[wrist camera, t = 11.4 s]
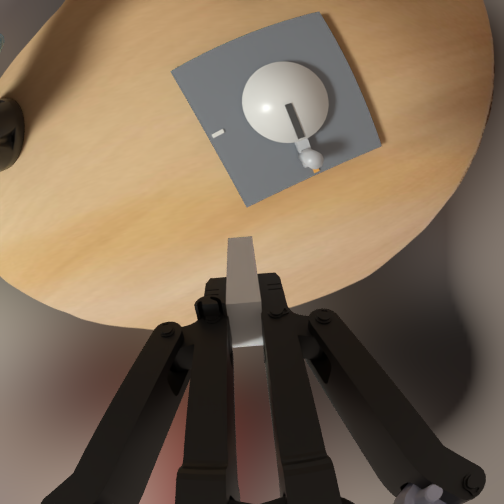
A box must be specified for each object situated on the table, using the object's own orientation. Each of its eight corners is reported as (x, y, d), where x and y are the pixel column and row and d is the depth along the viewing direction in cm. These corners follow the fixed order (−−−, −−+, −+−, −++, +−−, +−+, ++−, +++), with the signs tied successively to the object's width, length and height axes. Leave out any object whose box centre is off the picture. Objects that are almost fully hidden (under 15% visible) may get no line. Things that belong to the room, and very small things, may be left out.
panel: (173, 73, 33) (170, 71, 31) (315, 15, 29) (319, 11, 27) (246, 203, 43) (246, 208, 41) (376, 144, 39) (382, 146, 37)
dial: (228, 80, 32) (227, 74, 28) (307, 54, 31) (316, 46, 26) (271, 178, 39) (276, 186, 35) (344, 151, 38) (357, 156, 33)
